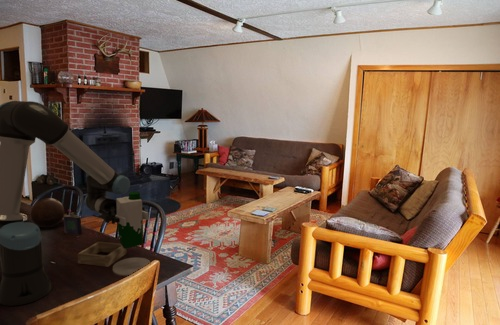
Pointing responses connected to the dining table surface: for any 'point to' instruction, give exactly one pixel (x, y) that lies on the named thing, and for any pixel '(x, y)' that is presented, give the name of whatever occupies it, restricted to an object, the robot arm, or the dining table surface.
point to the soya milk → (130, 220)
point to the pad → (129, 266)
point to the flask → (72, 224)
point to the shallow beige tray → (101, 260)
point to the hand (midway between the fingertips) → (136, 219)
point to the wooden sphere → (47, 212)
